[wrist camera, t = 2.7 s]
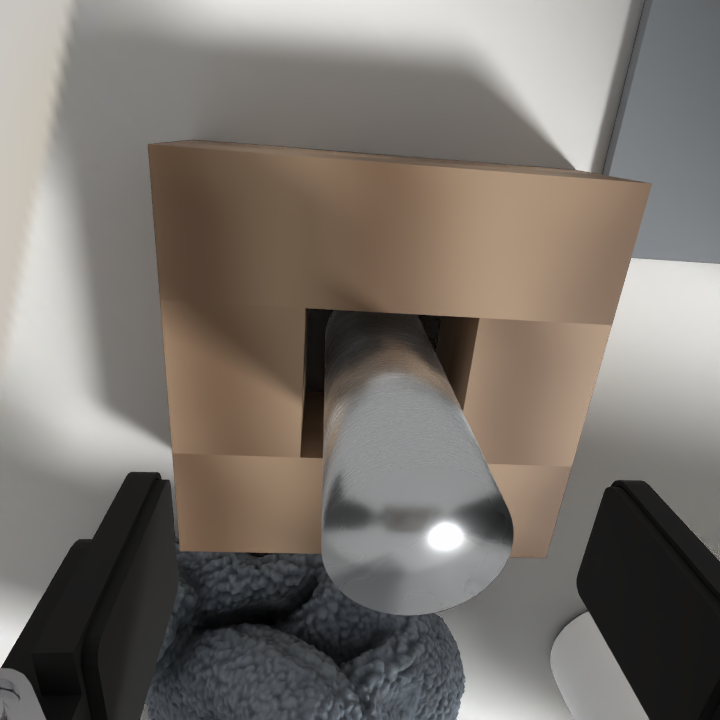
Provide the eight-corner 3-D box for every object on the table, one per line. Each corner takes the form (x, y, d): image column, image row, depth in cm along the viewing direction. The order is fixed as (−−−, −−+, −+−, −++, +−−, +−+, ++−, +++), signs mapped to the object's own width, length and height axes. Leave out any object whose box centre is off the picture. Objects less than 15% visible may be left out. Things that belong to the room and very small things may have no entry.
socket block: (577, 170, 20) (652, 183, 15) (506, 479, 25) (545, 557, 21) (192, 139, 18) (147, 144, 14) (208, 470, 24) (179, 551, 20)
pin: (427, 292, 21) (532, 468, 10) (415, 381, 23) (495, 616, 12) (327, 286, 21) (326, 461, 10) (323, 377, 23) (317, 614, 12)
